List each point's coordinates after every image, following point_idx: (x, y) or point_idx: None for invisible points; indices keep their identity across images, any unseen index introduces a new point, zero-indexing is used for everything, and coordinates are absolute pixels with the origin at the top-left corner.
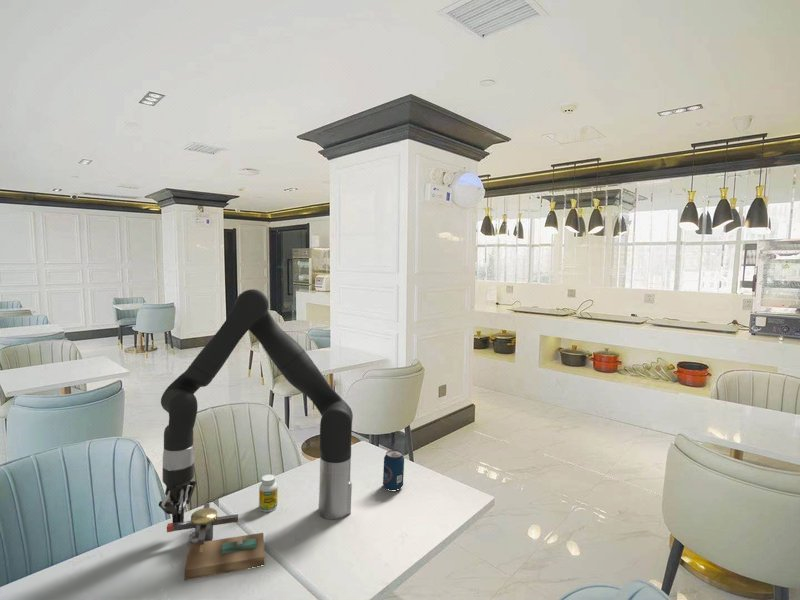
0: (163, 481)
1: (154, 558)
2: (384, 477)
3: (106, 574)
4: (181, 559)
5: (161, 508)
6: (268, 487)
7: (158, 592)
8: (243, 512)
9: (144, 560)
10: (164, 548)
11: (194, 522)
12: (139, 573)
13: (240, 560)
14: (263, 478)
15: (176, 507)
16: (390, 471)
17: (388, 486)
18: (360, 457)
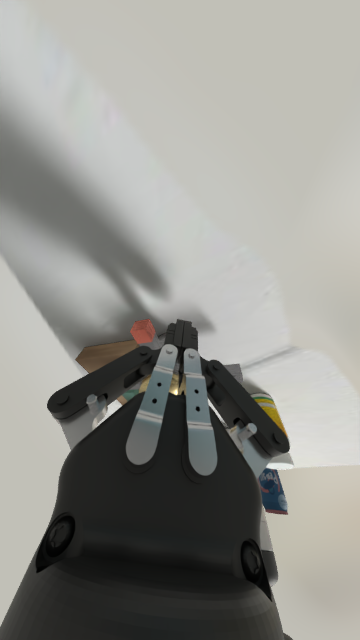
0: (11, 619)
1: (112, 289)
2: (264, 471)
3: (24, 200)
4: (123, 332)
5: (90, 373)
6: None
7: (50, 326)
8: (253, 379)
9: (101, 272)
10: (145, 296)
11: (141, 384)
12: (66, 281)
13: (117, 399)
14: (278, 463)
15: (182, 359)
16: (260, 485)
17: None
18: (356, 455)
